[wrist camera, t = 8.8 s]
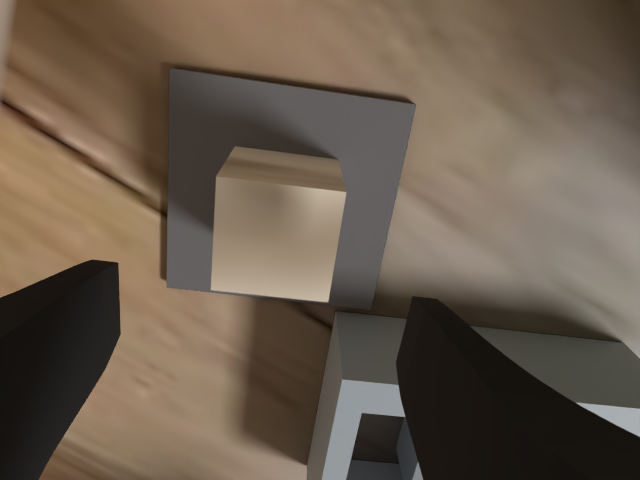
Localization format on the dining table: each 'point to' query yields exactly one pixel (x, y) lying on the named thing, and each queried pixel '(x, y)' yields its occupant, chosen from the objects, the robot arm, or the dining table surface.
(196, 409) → the dining table surface
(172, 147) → the mat
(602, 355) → the slot box
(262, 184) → the block
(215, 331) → the dining table surface
